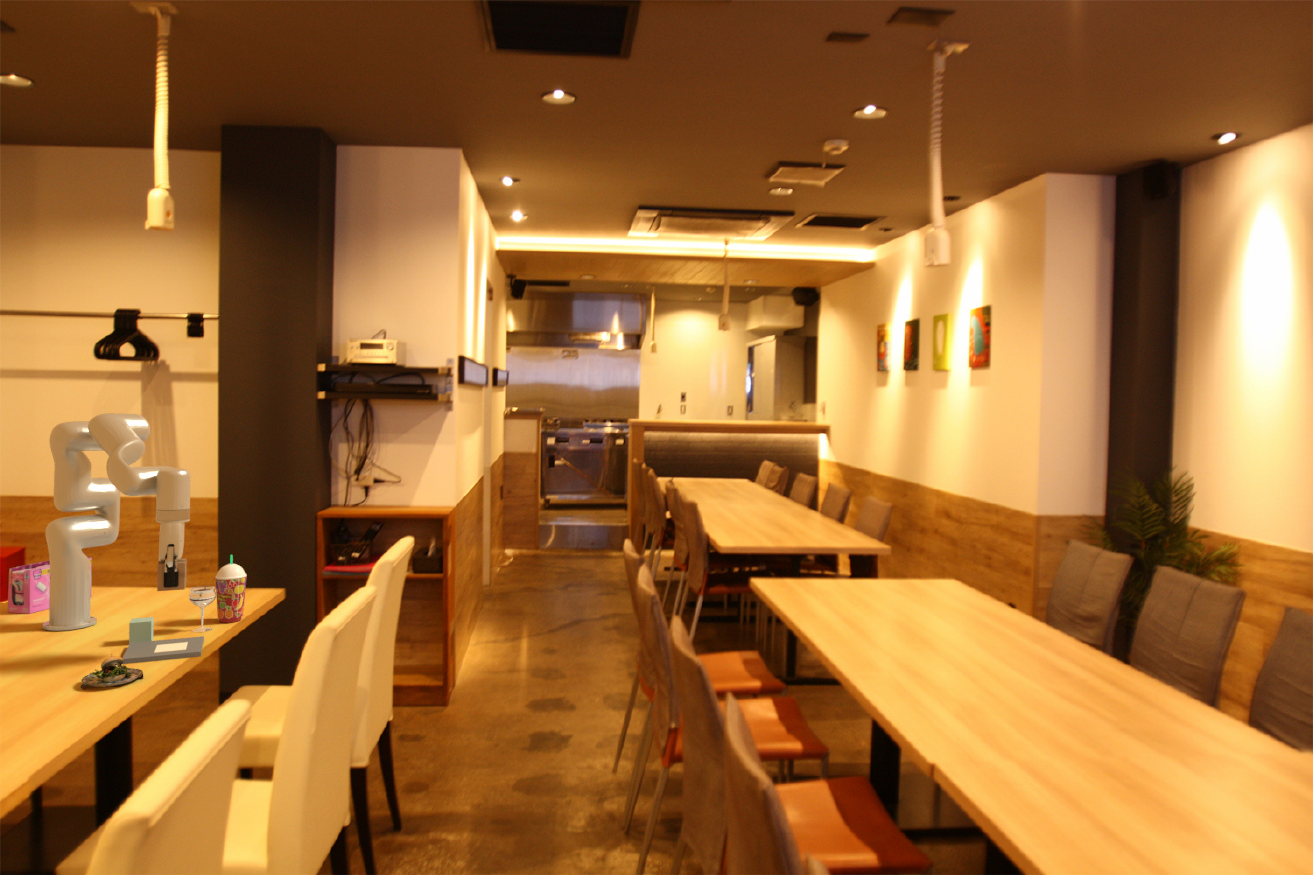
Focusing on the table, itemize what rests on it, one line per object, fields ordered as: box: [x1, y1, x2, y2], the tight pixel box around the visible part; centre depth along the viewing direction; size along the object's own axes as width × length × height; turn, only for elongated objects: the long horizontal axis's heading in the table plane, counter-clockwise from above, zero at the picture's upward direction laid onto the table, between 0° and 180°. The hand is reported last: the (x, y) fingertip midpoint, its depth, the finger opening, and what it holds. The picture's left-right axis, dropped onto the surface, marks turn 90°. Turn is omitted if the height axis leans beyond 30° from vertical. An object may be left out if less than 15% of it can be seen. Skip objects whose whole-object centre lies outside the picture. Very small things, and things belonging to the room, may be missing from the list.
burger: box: [80, 655, 144, 691], centre depth 181 cm, size 12×12×8 cm
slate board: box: [121, 636, 205, 665], centre depth 204 cm, size 15×17×1 cm
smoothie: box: [215, 554, 248, 624], centre depth 234 cm, size 8×8×20 cm
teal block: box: [128, 616, 155, 645], centre depth 212 cm, size 5×5×6 cm
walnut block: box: [156, 558, 188, 592], centre depth 203 cm, size 6×6×7 cm
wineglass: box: [188, 585, 217, 633], centre depth 224 cm, size 7×7×12 cm
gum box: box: [7, 556, 93, 615], centre depth 246 cm, size 24×8×14 cm, turn 173°
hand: (172, 583), depth 203 cm, fingers closed on walnut block, 6 cm apart
